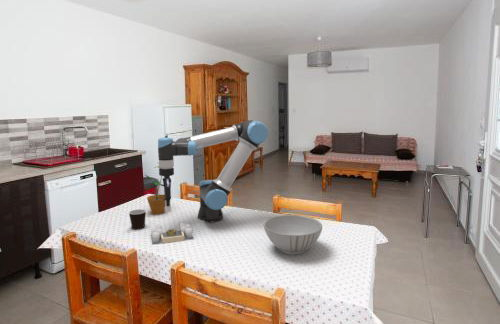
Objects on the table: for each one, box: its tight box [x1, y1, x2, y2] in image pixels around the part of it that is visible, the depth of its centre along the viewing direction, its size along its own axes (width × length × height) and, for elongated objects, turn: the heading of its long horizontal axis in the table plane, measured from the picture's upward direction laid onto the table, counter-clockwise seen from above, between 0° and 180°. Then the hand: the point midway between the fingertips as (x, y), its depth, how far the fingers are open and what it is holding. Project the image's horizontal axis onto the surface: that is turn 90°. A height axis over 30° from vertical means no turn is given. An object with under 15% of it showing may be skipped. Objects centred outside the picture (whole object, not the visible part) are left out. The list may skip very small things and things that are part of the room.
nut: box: [166, 228, 177, 236], centre depth 175 cm, size 4×5×2 cm
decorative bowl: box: [263, 214, 323, 255], centre depth 158 cm, size 27×27×12 cm
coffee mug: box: [128, 208, 147, 231], centre depth 186 cm, size 12×9×10 cm
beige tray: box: [150, 222, 195, 246], centre depth 172 cm, size 20×14×6 cm
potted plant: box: [145, 165, 165, 215], centre depth 211 cm, size 18×19×30 cm
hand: (168, 211), depth 181 cm, fingers closed
